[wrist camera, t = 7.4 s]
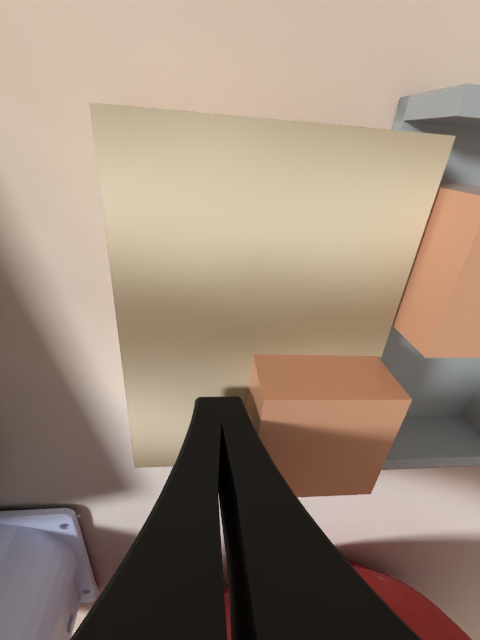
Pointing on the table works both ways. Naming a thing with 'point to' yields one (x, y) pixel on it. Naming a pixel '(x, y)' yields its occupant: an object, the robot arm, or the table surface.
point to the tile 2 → (445, 279)
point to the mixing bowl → (400, 607)
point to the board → (250, 248)
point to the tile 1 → (326, 419)
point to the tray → (399, 354)
